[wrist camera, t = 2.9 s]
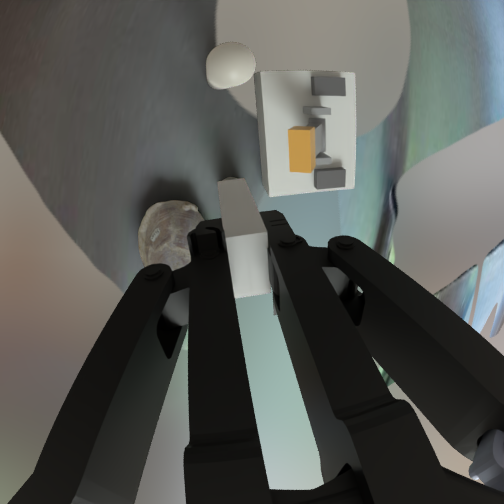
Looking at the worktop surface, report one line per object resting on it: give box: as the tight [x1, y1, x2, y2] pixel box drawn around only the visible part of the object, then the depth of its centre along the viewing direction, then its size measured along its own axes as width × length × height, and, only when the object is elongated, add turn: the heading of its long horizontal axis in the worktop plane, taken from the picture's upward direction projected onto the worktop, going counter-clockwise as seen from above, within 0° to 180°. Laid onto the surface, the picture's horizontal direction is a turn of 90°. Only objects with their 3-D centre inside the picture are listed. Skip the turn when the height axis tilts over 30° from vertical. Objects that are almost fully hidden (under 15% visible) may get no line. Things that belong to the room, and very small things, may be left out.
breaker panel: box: [254, 70, 356, 197], centre depth 34 cm, size 16×12×8 cm
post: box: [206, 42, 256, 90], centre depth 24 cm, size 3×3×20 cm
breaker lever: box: [288, 118, 326, 173], centre depth 29 cm, size 4×2×10 cm, turn 5°
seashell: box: [138, 200, 205, 271], centre depth 41 cm, size 9×12×15 cm
